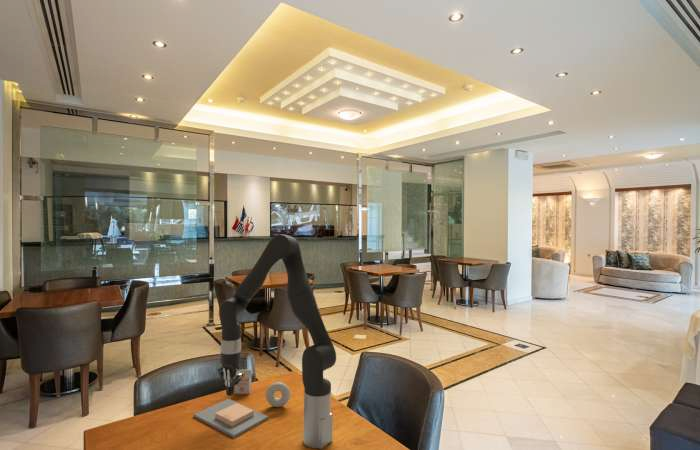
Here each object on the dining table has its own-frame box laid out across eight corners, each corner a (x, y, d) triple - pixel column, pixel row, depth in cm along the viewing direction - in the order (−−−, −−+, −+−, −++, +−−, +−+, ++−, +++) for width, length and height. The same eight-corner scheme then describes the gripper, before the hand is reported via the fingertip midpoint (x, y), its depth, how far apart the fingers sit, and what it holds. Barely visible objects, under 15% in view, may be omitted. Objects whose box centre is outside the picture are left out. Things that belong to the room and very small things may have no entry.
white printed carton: (235, 390, 164) (236, 368, 164) (251, 390, 164) (251, 368, 164) (233, 394, 160) (234, 371, 160) (249, 394, 161) (249, 371, 161)
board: (268, 418, 140) (268, 416, 140) (233, 438, 127) (233, 435, 127) (228, 401, 154) (228, 398, 154) (193, 416, 141) (193, 414, 141)
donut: (290, 404, 152) (291, 380, 152) (289, 409, 148) (289, 384, 148) (266, 404, 152) (267, 380, 152) (264, 408, 148) (265, 383, 148)
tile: (236, 407, 146) (253, 415, 140) (215, 418, 138) (232, 427, 132) (236, 402, 146) (253, 410, 140) (215, 413, 138) (232, 421, 132)
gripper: (250, 351, 141) (248, 396, 140) (228, 344, 148) (227, 387, 148) (234, 356, 134) (232, 403, 134) (212, 349, 142) (210, 393, 142)
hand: (229, 394), depth 141 cm, fingers closed
